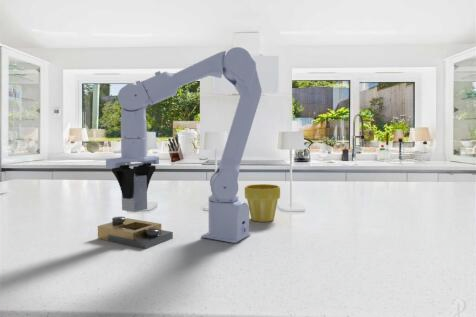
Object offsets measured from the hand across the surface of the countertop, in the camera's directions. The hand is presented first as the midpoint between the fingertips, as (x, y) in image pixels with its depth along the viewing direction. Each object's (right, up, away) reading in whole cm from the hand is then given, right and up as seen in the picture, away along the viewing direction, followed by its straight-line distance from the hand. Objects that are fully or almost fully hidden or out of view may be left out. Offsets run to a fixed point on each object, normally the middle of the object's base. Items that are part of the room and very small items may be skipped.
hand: (134, 196), depth 79 cm
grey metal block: (0, -3, 0) cm, 3 cm away
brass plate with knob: (0, -10, +1) cm, 10 cm away
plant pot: (+31, -9, +20) cm, 38 cm away
